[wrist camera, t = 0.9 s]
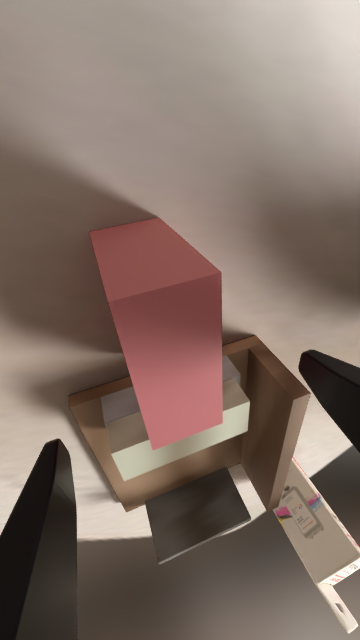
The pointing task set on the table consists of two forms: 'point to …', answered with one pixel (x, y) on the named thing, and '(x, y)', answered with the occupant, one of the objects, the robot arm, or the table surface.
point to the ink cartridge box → (318, 539)
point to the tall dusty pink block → (165, 325)
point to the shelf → (199, 449)
